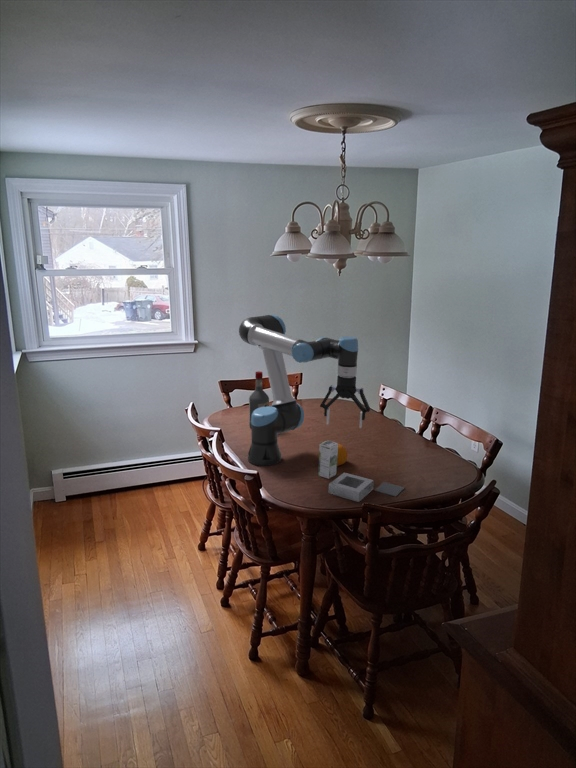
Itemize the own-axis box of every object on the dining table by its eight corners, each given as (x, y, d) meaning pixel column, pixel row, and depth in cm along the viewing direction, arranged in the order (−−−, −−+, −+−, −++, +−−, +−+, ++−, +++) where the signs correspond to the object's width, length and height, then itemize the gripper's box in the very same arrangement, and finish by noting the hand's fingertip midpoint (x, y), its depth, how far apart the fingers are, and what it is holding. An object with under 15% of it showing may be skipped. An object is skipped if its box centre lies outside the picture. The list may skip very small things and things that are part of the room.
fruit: (325, 456, 242) (326, 436, 239) (350, 460, 238) (351, 439, 235) (317, 465, 231) (317, 444, 229) (342, 470, 227) (343, 448, 225)
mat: (374, 491, 208) (374, 490, 208) (383, 482, 215) (383, 481, 215) (395, 496, 203) (395, 495, 203) (404, 488, 210) (404, 487, 210)
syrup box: (325, 471, 226) (326, 439, 222) (337, 475, 222) (338, 442, 219) (317, 475, 222) (318, 443, 218) (329, 479, 218) (330, 446, 214)
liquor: (247, 427, 279) (246, 372, 272) (257, 423, 286) (257, 369, 279) (261, 431, 274) (260, 375, 267) (271, 426, 282) (271, 371, 274)
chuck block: (328, 493, 206) (328, 483, 205) (343, 481, 216) (344, 472, 215) (358, 502, 199) (359, 492, 198) (373, 489, 209) (373, 480, 208)
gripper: (314, 375, 211) (312, 425, 216) (377, 380, 205) (373, 431, 211) (317, 370, 218) (315, 419, 223) (378, 375, 212) (375, 425, 218)
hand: (344, 425), depth 217 cm, fingers open, 13 cm apart
